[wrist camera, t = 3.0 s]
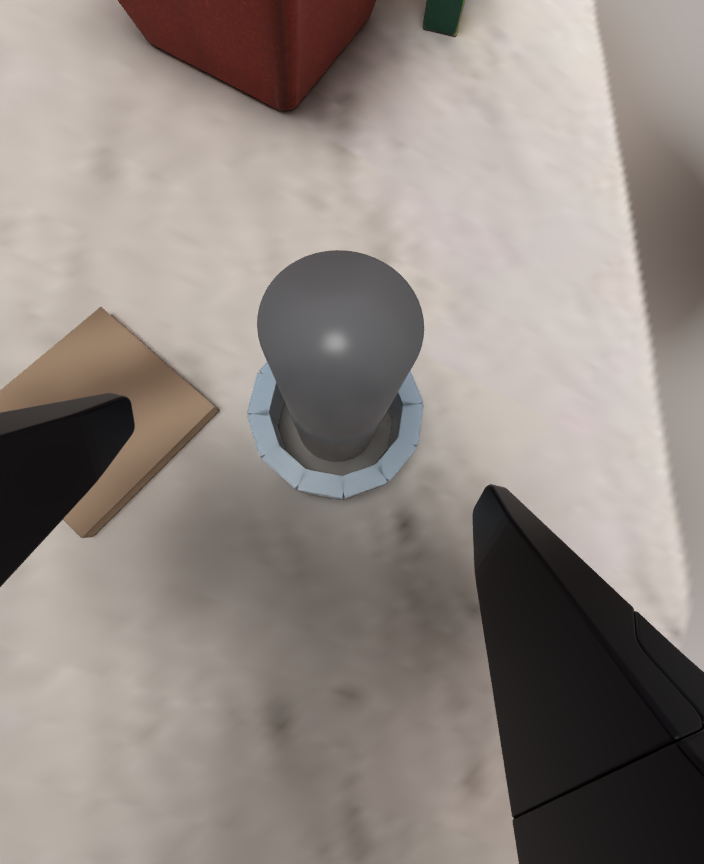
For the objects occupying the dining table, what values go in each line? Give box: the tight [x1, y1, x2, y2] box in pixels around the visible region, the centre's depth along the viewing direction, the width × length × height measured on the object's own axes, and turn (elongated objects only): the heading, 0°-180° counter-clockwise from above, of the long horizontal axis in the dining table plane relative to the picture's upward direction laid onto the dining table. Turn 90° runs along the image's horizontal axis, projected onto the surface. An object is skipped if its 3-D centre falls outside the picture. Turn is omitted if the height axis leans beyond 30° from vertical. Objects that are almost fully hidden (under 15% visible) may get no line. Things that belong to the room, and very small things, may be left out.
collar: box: [247, 362, 423, 500], centre depth 18 cm, size 8×8×3 cm
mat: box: [0, 307, 219, 538], centre depth 19 cm, size 9×9×1 cm
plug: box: [257, 250, 424, 461], centre depth 14 cm, size 4×4×11 cm
